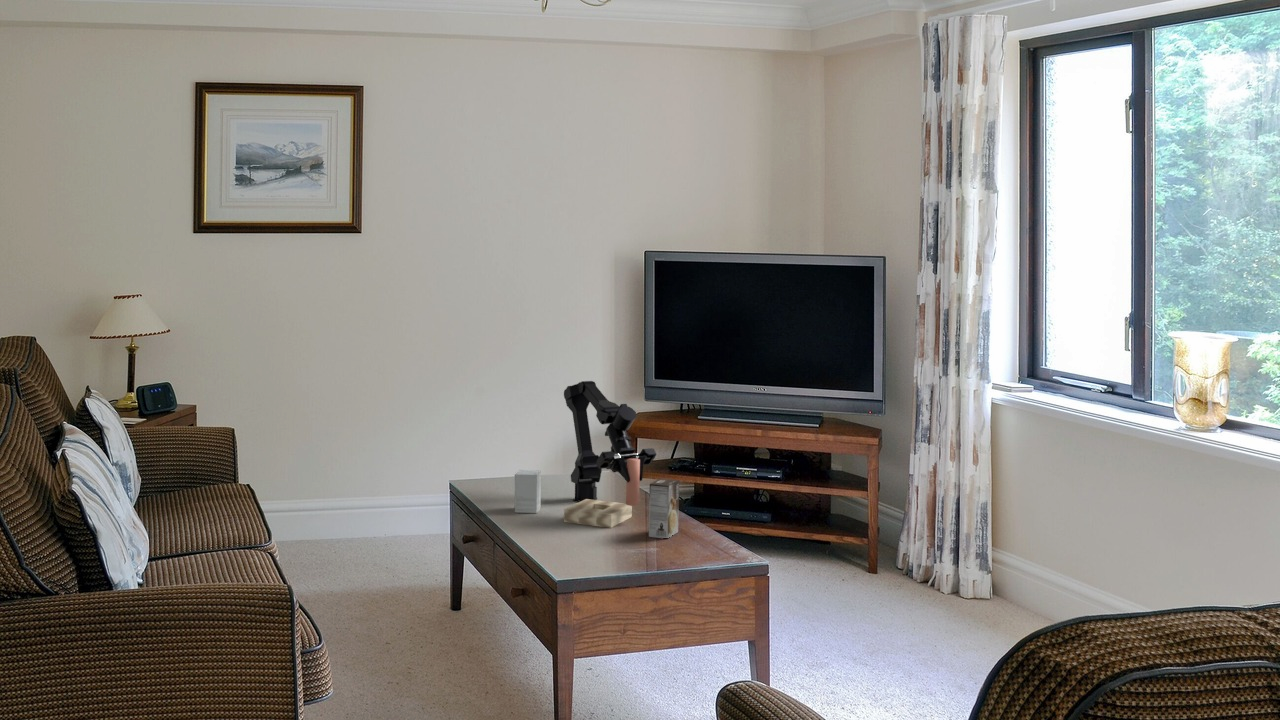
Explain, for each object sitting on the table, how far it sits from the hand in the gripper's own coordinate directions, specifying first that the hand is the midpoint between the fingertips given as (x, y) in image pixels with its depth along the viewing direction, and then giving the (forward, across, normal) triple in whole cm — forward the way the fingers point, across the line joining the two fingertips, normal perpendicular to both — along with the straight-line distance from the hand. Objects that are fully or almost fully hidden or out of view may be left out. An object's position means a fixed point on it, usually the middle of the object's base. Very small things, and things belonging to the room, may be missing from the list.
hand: (635, 480), depth 336 cm
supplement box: (-11, +23, -30) cm, 40 cm away
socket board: (+3, +8, -16) cm, 18 cm away
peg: (+4, 0, -6) cm, 8 cm away
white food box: (+20, -2, +1) cm, 20 cm away
